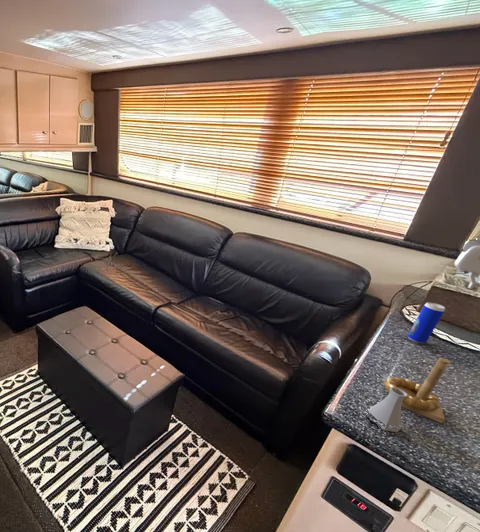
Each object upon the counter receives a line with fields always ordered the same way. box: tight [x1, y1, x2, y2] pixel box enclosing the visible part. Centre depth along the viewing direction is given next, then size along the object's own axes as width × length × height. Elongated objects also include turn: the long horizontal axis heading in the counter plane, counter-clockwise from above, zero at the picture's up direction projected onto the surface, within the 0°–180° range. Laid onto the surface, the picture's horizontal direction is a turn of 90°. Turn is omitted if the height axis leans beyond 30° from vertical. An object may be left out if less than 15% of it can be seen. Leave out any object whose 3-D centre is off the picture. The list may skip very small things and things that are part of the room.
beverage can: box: [407, 301, 446, 344], centre depth 117 cm, size 5×5×15 cm
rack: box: [396, 357, 451, 424], centre depth 86 cm, size 9×9×16 cm
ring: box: [383, 376, 442, 411], centre depth 89 cm, size 11×11×2 cm
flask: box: [363, 387, 408, 433], centre depth 81 cm, size 7×7×10 cm
